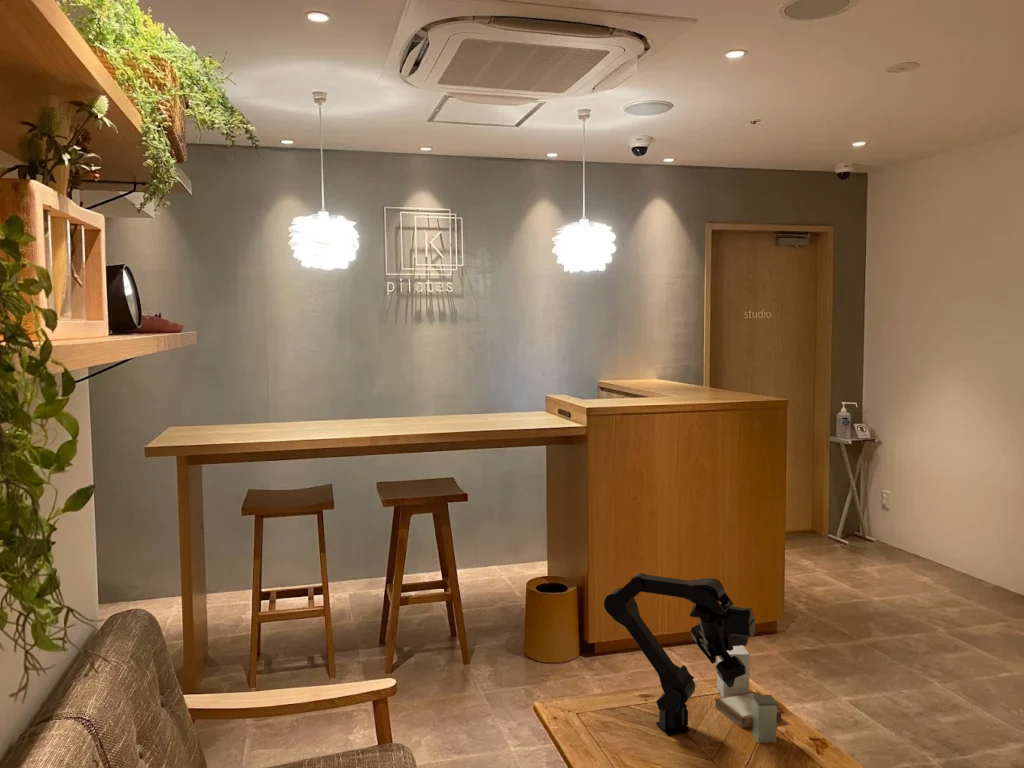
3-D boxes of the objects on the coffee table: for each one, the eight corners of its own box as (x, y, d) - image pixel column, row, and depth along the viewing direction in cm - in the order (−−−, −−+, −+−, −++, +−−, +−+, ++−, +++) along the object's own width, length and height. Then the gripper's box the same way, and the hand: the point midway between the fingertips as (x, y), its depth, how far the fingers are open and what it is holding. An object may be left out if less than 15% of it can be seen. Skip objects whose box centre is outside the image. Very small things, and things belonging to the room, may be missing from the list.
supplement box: (749, 699, 227) (750, 654, 226) (722, 699, 227) (723, 654, 226) (742, 687, 235) (743, 644, 234) (716, 687, 235) (717, 644, 234)
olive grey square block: (757, 742, 204) (758, 703, 203) (752, 733, 208) (752, 695, 208) (776, 742, 204) (777, 703, 203) (770, 733, 208) (770, 694, 208)
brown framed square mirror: (741, 728, 211) (741, 718, 211) (715, 707, 222) (715, 698, 222) (780, 720, 215) (781, 710, 215) (753, 700, 226) (753, 691, 226)
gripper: (761, 640, 198) (769, 687, 204) (724, 595, 215) (732, 640, 221) (719, 657, 196) (728, 704, 203) (685, 610, 213) (695, 655, 220)
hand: (722, 674), depth 212 cm, fingers open, 9 cm apart
